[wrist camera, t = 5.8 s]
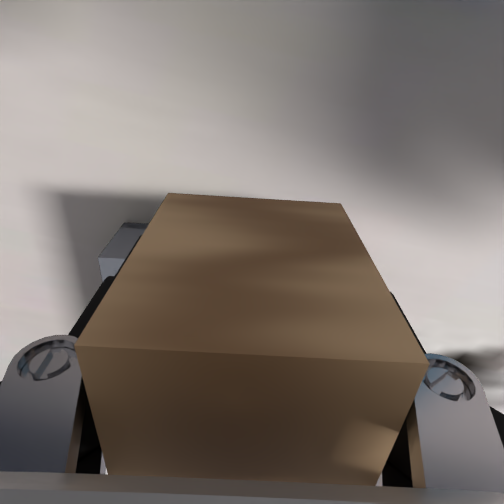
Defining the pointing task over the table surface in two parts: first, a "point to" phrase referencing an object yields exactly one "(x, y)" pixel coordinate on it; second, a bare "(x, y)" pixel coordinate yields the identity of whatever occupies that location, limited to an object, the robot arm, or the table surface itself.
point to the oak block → (249, 348)
